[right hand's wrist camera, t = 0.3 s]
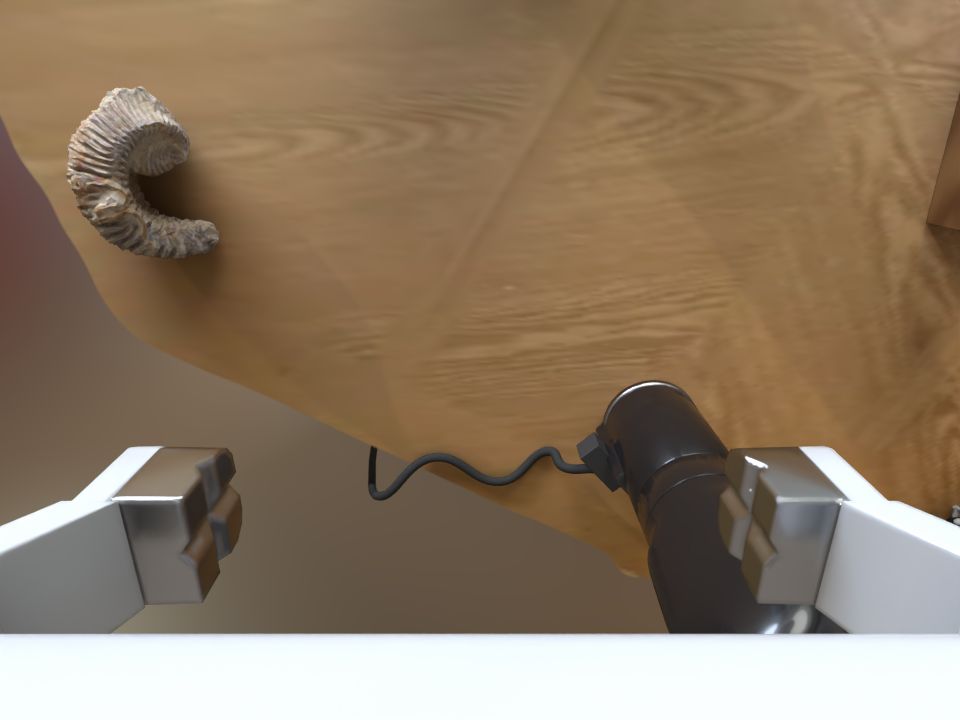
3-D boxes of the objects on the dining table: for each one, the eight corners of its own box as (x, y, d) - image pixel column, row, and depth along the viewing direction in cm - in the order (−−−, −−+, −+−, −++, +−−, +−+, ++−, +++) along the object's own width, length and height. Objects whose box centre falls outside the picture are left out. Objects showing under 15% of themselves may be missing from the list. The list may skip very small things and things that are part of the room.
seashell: (160, 85, 55) (43, 57, 46) (245, 115, 52) (139, 91, 43) (143, 232, 59) (34, 234, 50) (221, 268, 56) (120, 276, 47)
